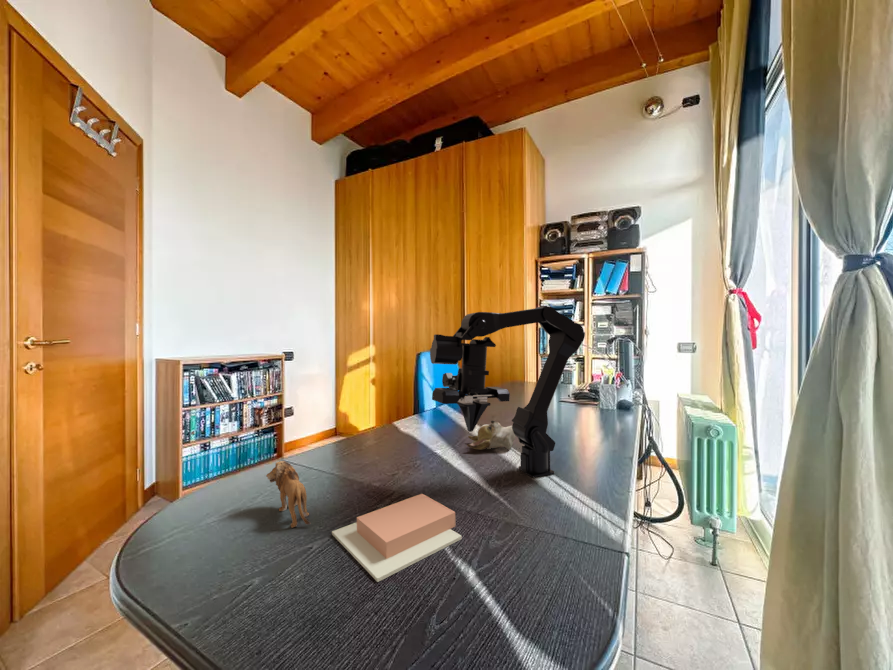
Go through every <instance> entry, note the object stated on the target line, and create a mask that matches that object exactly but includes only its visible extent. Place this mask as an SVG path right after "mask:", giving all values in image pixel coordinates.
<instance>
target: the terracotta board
mask: <svg viewBox="0 0 893 670" xmlns="http://www.w3.org/2000/svg"><path fill="white" fill-rule="evenodd" d="M356 522H357V532H358V533H359V534H360V535H361V536H362V537H363V538H364V539H365V540H366V541H368V542H369V543H370V544H371V545H372V546H373V547H374V548H375V549H376V550H377V551H379V552H380V553H381V554H382V555H383V556H384V557H385V558H386V559H388V558H390V557H392V556H394V555H396V554H398V553H400V552H402V551H404V550H407V549H409V548H411V547H413V546H415V545H417V544H419V543H421V542H423V541H426V540H428V539H430V538H432V537H434V536H436V535H438V534H440V533H442V532H444V531H447V530H449V529H451V530H452V529H453V528H455V527H456V511H454V510H452V509H451V508H449V507H447V506H445V505H443V504H442V503H440V502H439V501H436V500H434V499H432V498H430V496H428V495H425V494H423V493H420V494H417V495H414V496H411V497H409V498H406V499H404V500H401V501H398V502H395V503H392V504H390V505H389V504H388V505H387V506H384V507H382V508H378V509H376V510H374V511H371V512H368V513H365V514H362V515H359V516H356Z"/></svg>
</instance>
